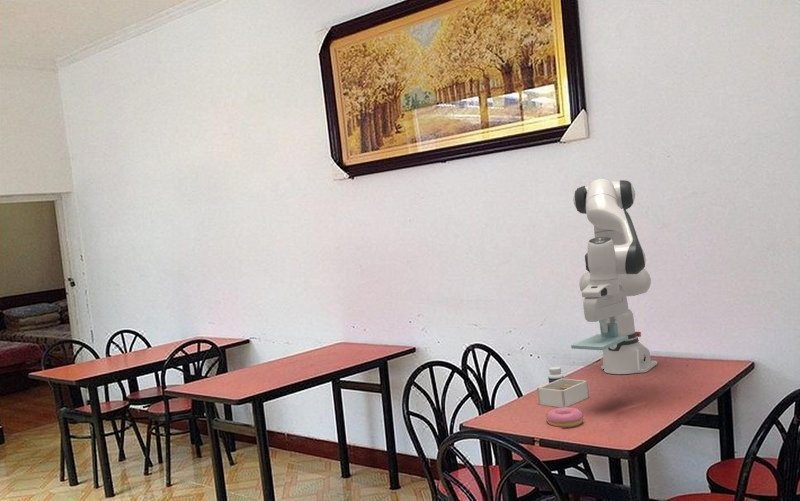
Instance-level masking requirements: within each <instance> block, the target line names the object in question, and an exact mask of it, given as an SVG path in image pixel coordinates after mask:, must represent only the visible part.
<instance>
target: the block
mask: <svg viewBox="0 0 800 501" xmlns="http://www.w3.org/2000/svg"><path fill="white" fill-rule="evenodd" d="M572 386H574V385H564V386H562V387H560V389H562V390H565V389H567V388H570V387H572Z"/></svg>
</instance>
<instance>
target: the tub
mask: <svg viewBox="0 0 800 501" xmlns="http://www.w3.org/2000/svg"><path fill="white" fill-rule="evenodd" d="M588 383H589V382H588V380H582V379H571V378H564V379H563V378H562V379H559V380H557V381H554V382H552V383H549V382H548V383H547V384H544V385H541V386H539V387H537V388H536V389H537V399H538V404H539V405H540V406H547V407H556V408H561V407H570V406H572V405H574V404H577V403H578V402H581V401H584V400H586V399H588V398H590V394H589V393H590V392H589V384H588ZM564 385H574V386H572V387H570V388H567V389H565V390H555V389H560V387H562V386H564Z"/></svg>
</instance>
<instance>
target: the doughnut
mask: <svg viewBox="0 0 800 501" xmlns="http://www.w3.org/2000/svg"><path fill="white" fill-rule="evenodd" d="M583 414H584V413H583V411H581V409H579V408H577V407H570V406H568V407H556V408H553V409H550V410H549V411H548V412H547V413H546V416H545V418H546V419H545V420H546V422H547V423H548V424H549V425H550V426H554V427H558V428H560V429H562V428H563V429H565V428H567V427H568V428H573V427H576V426H579V425H580V424H582V422H583V421H584V415H583Z"/></svg>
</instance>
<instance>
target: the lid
mask: <svg viewBox="0 0 800 501" xmlns="http://www.w3.org/2000/svg"><path fill="white" fill-rule="evenodd" d="M607 325H608V326H609V328H610V329H609V330H610V331H609V332H607V333H603V332H602V327H601V325H600V324H599V327H600V328H599V330H600V334H598V333H597V334H595V335H592V336H590V337H588V338H585V339H583V340H581V341H579V342H576V343H574V344H571V346H570V347H571V350H573V349H575V350H588V351H589V350H590V351H603V350H605V349H607V348H609V347H611V346H613V345H616V344H618V343H620V342H622V341H625V340H627V339H628V336H625V335H618V327H617V323H607Z"/></svg>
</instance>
